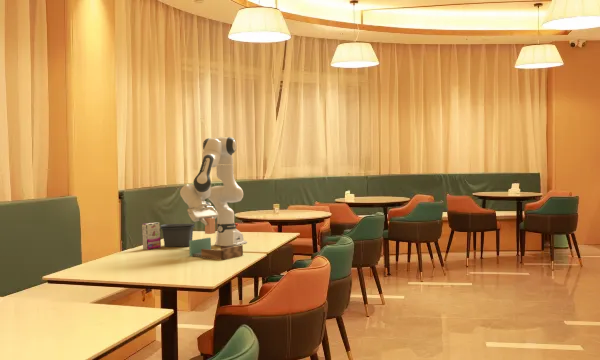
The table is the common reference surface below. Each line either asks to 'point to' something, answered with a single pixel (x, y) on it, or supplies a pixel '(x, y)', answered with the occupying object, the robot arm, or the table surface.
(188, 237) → the storage bin
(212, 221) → the terracotta block
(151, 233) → the candy bar box
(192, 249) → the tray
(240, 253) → the dock
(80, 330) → the table surface
